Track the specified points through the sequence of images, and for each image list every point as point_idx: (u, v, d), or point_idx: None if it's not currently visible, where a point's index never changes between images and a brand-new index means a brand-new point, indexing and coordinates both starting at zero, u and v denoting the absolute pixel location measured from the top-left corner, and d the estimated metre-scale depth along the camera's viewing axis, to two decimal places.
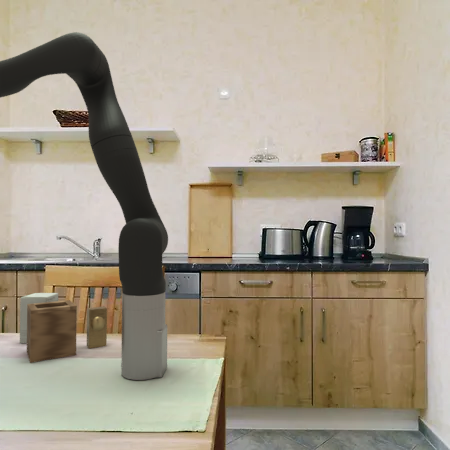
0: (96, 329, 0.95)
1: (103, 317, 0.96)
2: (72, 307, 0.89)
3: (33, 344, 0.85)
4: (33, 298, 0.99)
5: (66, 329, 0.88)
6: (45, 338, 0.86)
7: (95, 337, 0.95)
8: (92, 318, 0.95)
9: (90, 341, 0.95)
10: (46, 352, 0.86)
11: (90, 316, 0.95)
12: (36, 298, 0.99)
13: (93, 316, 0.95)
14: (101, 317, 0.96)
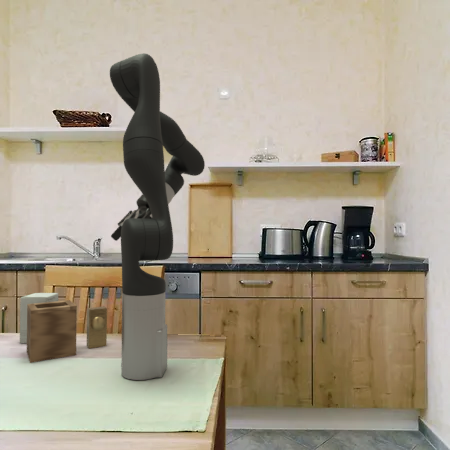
0: (96, 329, 0.95)
1: (103, 317, 0.96)
2: (72, 307, 0.89)
3: (33, 344, 0.85)
4: (33, 298, 0.99)
5: (66, 329, 0.88)
6: (45, 338, 0.86)
7: (95, 337, 0.95)
8: (92, 318, 0.95)
9: (90, 341, 0.95)
10: (46, 352, 0.86)
11: (90, 316, 0.95)
12: (36, 298, 0.99)
13: (93, 316, 0.95)
14: (101, 317, 0.96)
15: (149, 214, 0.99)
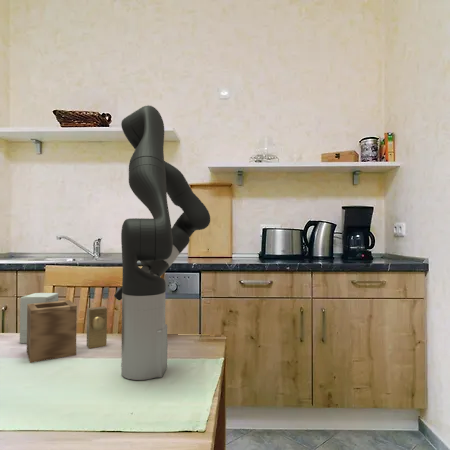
0: (96, 329, 0.95)
1: (103, 317, 0.96)
2: (72, 307, 0.89)
3: (33, 344, 0.85)
4: (33, 298, 0.99)
5: (66, 329, 0.88)
6: (45, 338, 0.86)
7: (95, 337, 0.95)
8: (92, 318, 0.95)
9: (90, 341, 0.95)
10: (46, 352, 0.86)
11: (90, 316, 0.95)
12: (36, 298, 0.99)
13: (93, 316, 0.95)
14: (101, 317, 0.96)
15: None
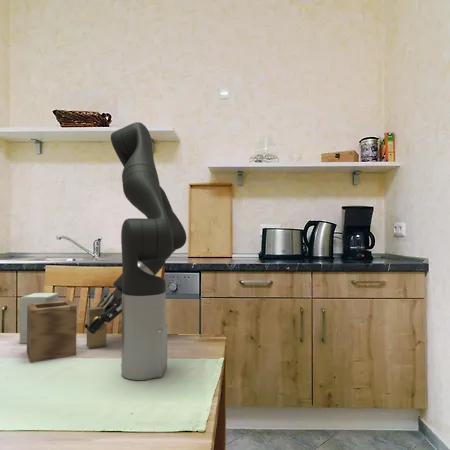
0: None
1: None
2: (72, 307, 0.89)
3: (33, 344, 0.85)
4: (33, 298, 0.99)
5: (66, 329, 0.88)
6: (45, 338, 0.86)
7: (95, 337, 0.95)
8: (92, 318, 0.95)
9: (90, 341, 0.95)
10: (46, 352, 0.86)
11: (90, 316, 0.95)
12: (36, 298, 0.99)
13: (93, 315, 0.95)
14: None
15: (114, 308, 0.94)
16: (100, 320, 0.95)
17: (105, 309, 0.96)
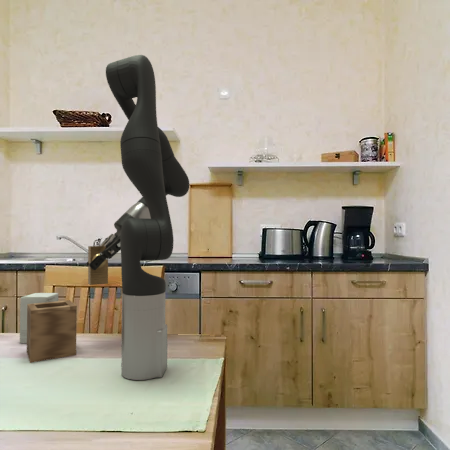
0: None
1: None
2: (72, 307, 0.89)
3: (33, 344, 0.85)
4: (33, 298, 0.99)
5: (66, 329, 0.88)
6: (45, 338, 0.86)
7: (96, 274, 0.96)
8: (93, 255, 0.95)
9: (91, 278, 0.95)
10: (46, 352, 0.86)
11: (91, 252, 0.95)
12: (36, 298, 0.99)
13: (94, 252, 0.95)
14: None
15: (116, 244, 0.94)
16: (101, 256, 0.95)
17: (106, 246, 0.96)
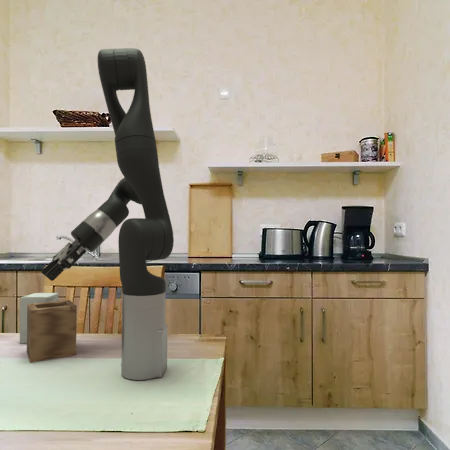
0: None
1: None
2: (72, 307, 0.89)
3: (33, 344, 0.85)
4: (33, 298, 0.99)
5: (66, 329, 0.88)
6: (45, 338, 0.86)
7: None
8: None
9: None
10: (46, 352, 0.86)
11: None
12: (36, 298, 0.99)
13: None
14: None
15: (75, 250, 0.88)
16: (60, 266, 0.87)
17: (64, 255, 0.89)
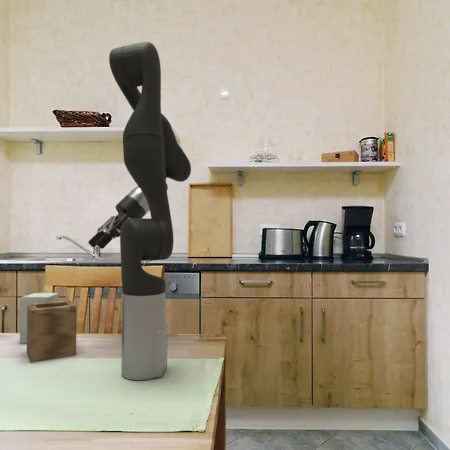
0: None
1: None
2: (72, 307, 0.89)
3: (33, 344, 0.85)
4: (33, 298, 0.99)
5: (66, 329, 0.88)
6: (45, 338, 0.86)
7: None
8: None
9: None
10: (46, 352, 0.86)
11: None
12: (36, 298, 0.99)
13: None
14: None
15: (123, 220, 0.94)
16: (109, 235, 0.94)
17: (112, 225, 0.96)
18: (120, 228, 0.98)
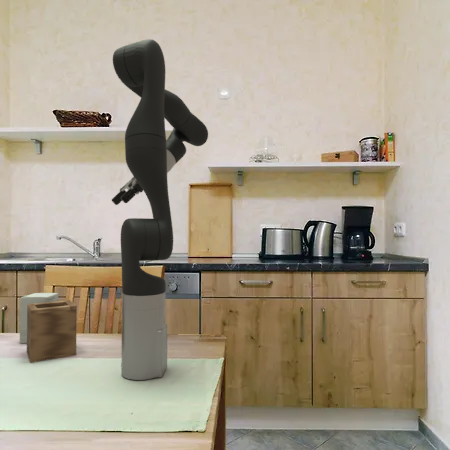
0: None
1: None
2: (72, 307, 0.89)
3: (33, 344, 0.85)
4: (33, 298, 0.99)
5: (66, 329, 0.88)
6: (45, 338, 0.86)
7: None
8: None
9: None
10: (46, 352, 0.86)
11: None
12: (36, 298, 0.99)
13: None
14: None
15: None
16: (133, 190, 0.99)
17: (135, 182, 1.01)
18: None
